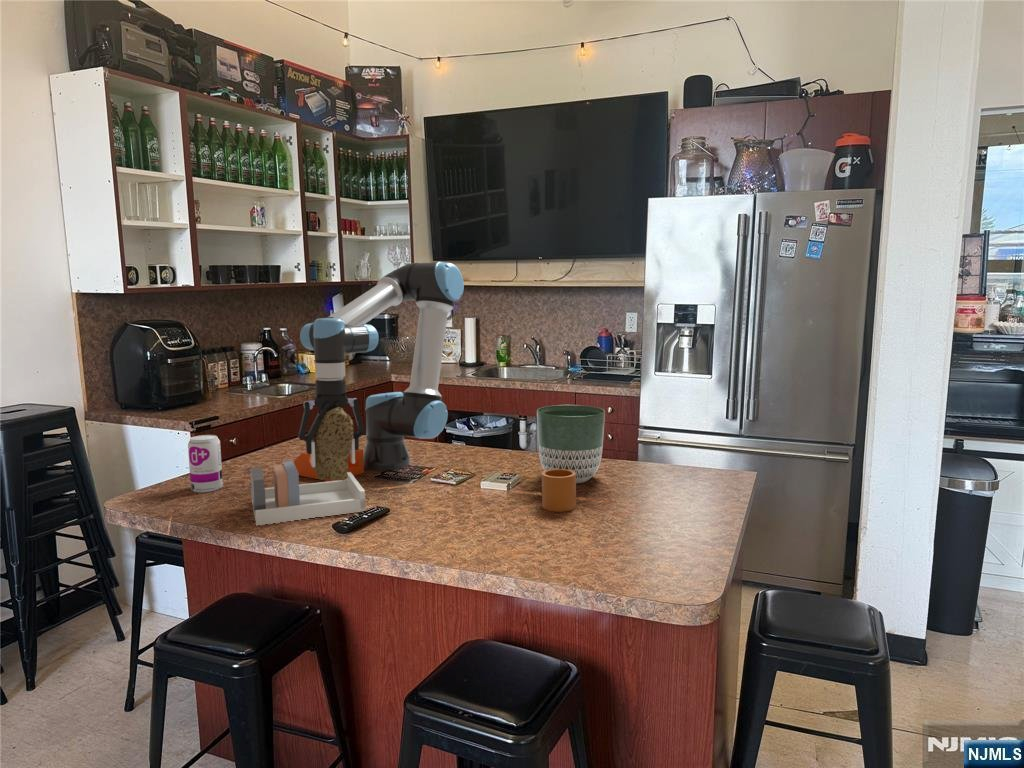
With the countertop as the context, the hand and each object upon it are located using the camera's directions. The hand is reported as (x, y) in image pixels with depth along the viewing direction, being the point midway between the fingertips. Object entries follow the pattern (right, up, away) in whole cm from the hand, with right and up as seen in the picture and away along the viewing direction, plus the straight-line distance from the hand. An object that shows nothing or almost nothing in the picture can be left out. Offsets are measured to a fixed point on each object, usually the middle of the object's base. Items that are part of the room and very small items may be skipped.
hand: (333, 464), depth 180 cm
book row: (-11, -11, -3) cm, 16 cm away
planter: (+64, -8, +21) cm, 67 cm away
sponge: (0, -5, +1) cm, 5 cm away
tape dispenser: (-9, -8, +29) cm, 32 cm away
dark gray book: (-17, -10, -6) cm, 21 cm away
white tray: (-6, -11, -1) cm, 13 cm away
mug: (+59, -11, 0) cm, 60 cm away
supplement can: (-39, -9, +15) cm, 43 cm away
